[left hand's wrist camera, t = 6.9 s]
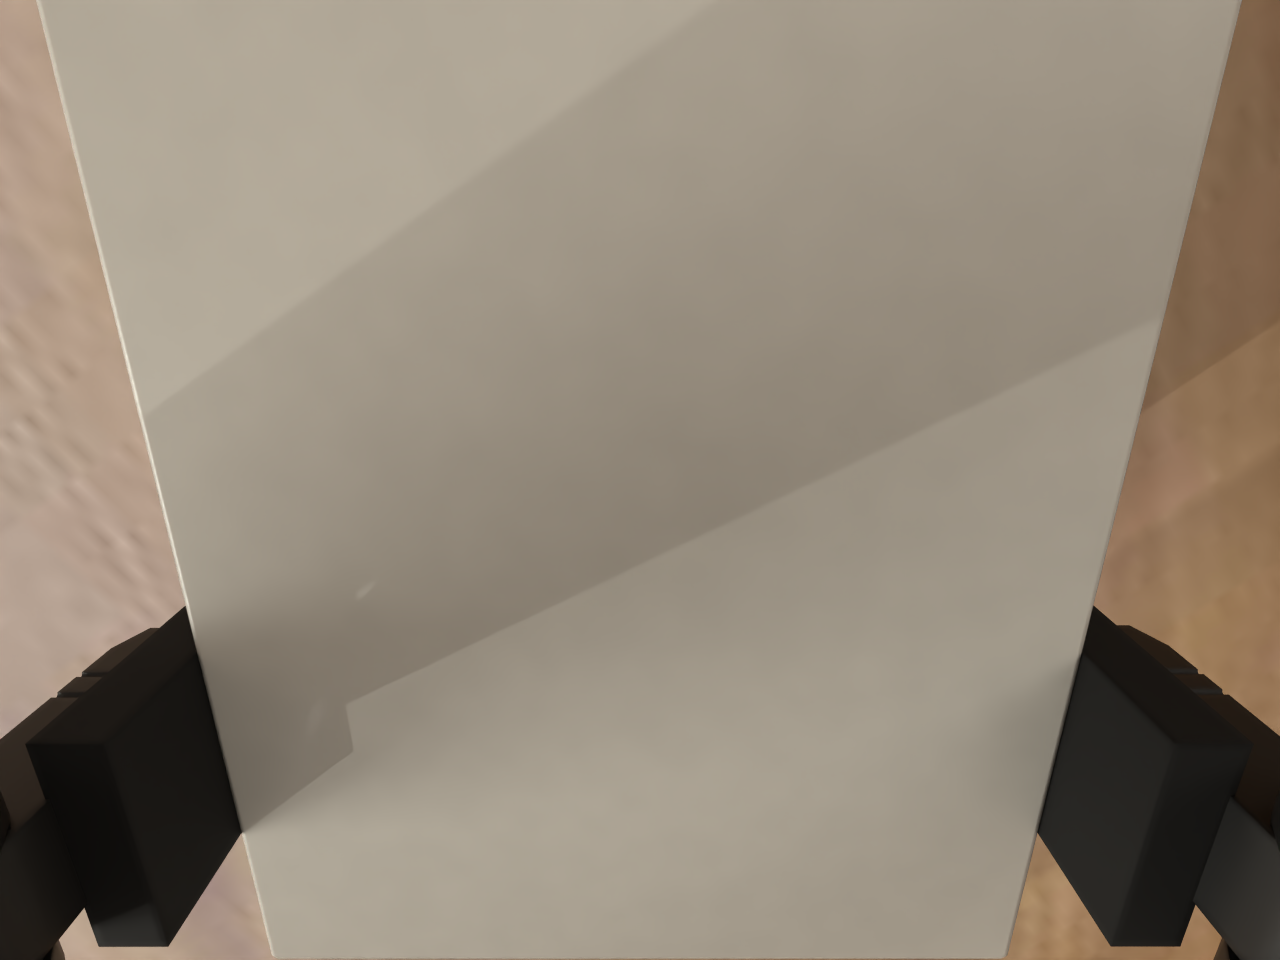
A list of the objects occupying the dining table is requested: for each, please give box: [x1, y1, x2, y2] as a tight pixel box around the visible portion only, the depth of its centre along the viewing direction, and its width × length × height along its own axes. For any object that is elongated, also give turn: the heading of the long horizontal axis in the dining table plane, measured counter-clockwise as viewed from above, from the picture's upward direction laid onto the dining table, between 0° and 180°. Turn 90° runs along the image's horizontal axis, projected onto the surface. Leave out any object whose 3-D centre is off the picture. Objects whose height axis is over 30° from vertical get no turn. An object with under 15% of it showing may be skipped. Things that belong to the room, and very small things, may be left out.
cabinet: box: [36, 0, 1242, 959], centre depth 11 cm, size 16×10×9 cm, turn 0°
